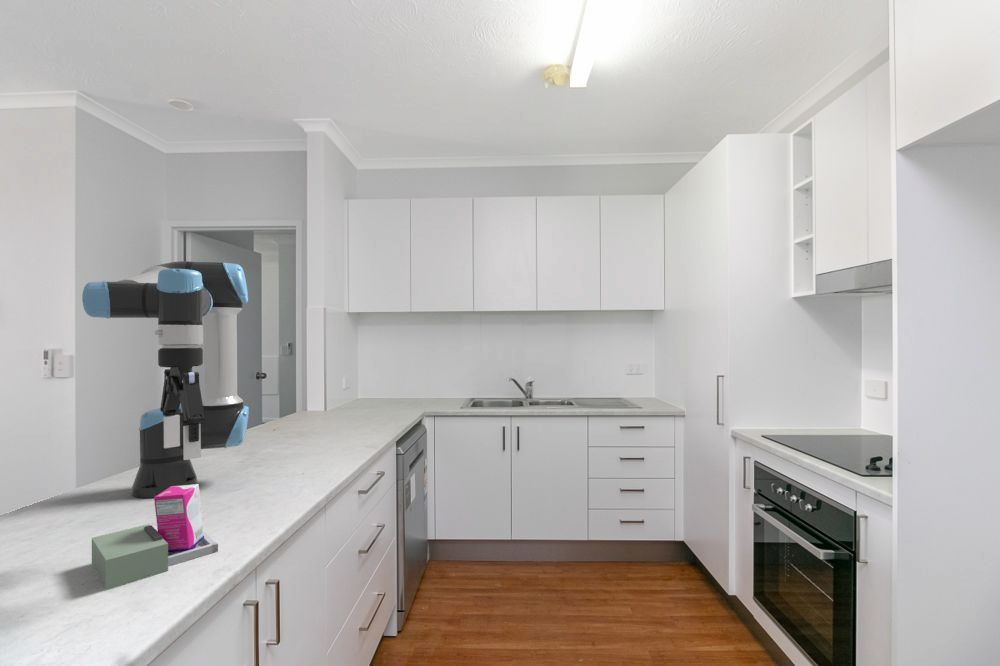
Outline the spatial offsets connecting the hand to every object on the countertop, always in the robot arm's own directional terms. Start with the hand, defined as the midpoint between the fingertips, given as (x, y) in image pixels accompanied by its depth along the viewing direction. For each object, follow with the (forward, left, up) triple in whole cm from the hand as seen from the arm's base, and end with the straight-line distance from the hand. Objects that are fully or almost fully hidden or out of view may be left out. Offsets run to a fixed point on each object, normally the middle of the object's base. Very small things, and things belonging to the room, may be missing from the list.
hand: (181, 452), depth 98 cm
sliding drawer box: (0, -4, -20) cm, 20 cm away
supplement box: (0, 0, -19) cm, 19 cm away
